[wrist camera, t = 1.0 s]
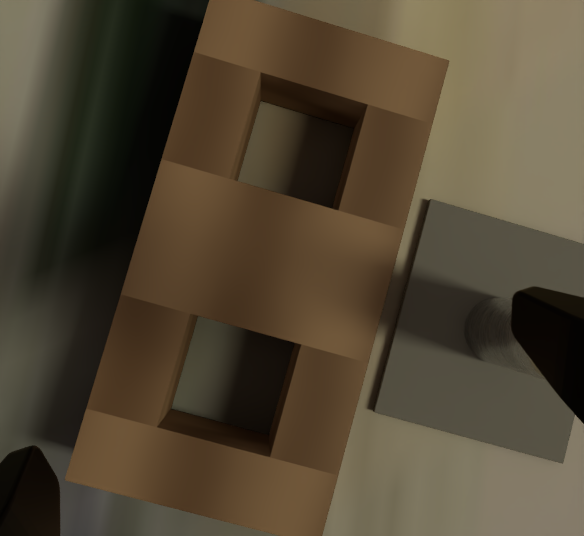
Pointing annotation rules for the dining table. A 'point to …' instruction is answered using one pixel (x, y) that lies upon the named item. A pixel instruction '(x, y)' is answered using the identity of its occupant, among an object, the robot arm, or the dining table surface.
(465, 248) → the mat
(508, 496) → the dining table surface
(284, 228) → the hole block
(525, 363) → the peg
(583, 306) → the robot arm
